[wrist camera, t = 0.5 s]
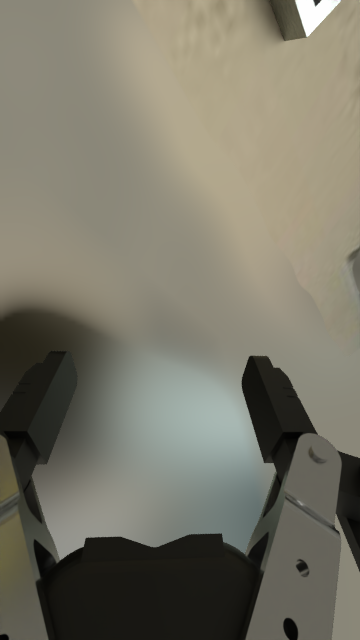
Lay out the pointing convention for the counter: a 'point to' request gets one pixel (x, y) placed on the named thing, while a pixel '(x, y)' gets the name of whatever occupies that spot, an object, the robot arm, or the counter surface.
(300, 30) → the open metal box
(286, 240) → the counter surface
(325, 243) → the counter surface
